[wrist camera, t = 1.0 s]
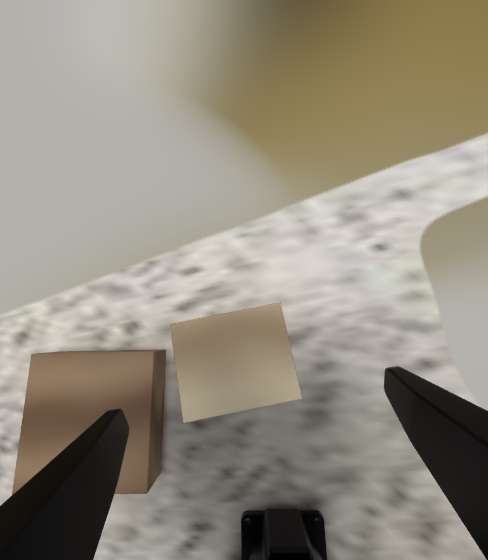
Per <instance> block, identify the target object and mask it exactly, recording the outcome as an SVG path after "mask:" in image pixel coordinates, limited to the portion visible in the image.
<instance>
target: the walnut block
mask: <svg viewBox="0 0 488 560" xmlns="http://www.w3.org/2000/svg"><path fill="white" fill-rule="evenodd" d="M165 357H166V350H120V351H68V352H49V353H38V354H31V361H30V369H29V376H28V383H27V390H26V397H25V405H24V412H23V419H22V426H21V434H20V441H19V448H18V455H17V462H16V470H15V477H14V484H13V491H12V495H13V494H14V493H15V492H16V491H18V490H19V489H20V488H21V487H22V486H23V485H24V484H25V483H27V482H28V481H29V480H30V479H31V478H32V477H33V476H34V475H36V474H37V473H38V472H39V471H40V470H41V469H42V468H43V467H45V466H46V465H47V464H48V463H49V462H50V461H51V460H52V459H54V458H55V457H56V456H57V455H58V454H59V453H60V452H61V451H63V450H64V449H65V448H66V447H67V446H68V445H69V444H70V443H72V442H73V441H74V440H75V439H76V438H77V437H78V436H79V435H80V434H82V433H83V432H84V431H85V430H86V429H87V428H88V427H89V426H91V425H92V424H93V423H94V422H95V421H96V420H97V419H98V418H100V417H101V416H102V415H103V414H104V413H105V412H106V411H108V410H110V409H116V408H121V409H122V410H123V412H124V414H125V417H126V419H127V422H128V424H129V436H128V440H127V445H126V449H125V453H124V458H123V462H122V467H121V471H120V476H119V480H118V483H117V487H116V490H115V493H114V494H147V493H148V491H149V490H150V488H151V487H152V485H153V483H154V482H155V480H156V479H157V477H158V476H159V474H160V473H161V458H162V433H163V408H164V383H165Z"/></svg>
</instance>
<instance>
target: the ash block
mask: <svg viewBox="0 0 488 560" xmlns="http://www.w3.org/2000/svg"><path fill="white" fill-rule="evenodd" d="M170 328H171V336H172V343H173V350H174V358H175V365H176V372H177V380H178V387H179V395H180V402H181V409H182V417H183V423H186V422H191V421H196V420H200V419H205V418H210V417H215V416H220V415H225V414H230V413H235V412H239V411H244V410H249V409H254V408H259V407H264V406H269V405H274V404H278V403H283V402H288V401H293V400H298V399H302V396H301V392H300V387H299V383H298V378H297V374H296V370H295V365H294V361H293V356H292V352H291V347H290V343H289V339H288V334H287V330H286V325H285V321H284V316H283V312H282V307H281V303H280V302H279V303H274V304H269V305H264V306H259V307H254V308H249V309H244V310H239V311H234V312H229V313H224V314H219V315H214V316H209V317H204V318H199V319H194V320H189V321H184V322H179V323H174V324H170Z"/></svg>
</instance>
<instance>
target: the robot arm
mask: <svg viewBox="0 0 488 560" xmlns="http://www.w3.org/2000/svg"><path fill="white" fill-rule="evenodd" d="M384 390H385V393H386V395H387V397H388V399H389V401H390V403H391V405H392V407H393V409H394V411H395V413H396V415H397V417H398V419H399V421H400V422H401V424H402V426H403V428H404V430H405V432H406V434H407V436H408V438H409V439H410V441H411V443H412V444H413V446H414V448H415V449H416V451H417V452H418V454H419V455H420V457H421V458H422V460H423V462H424V463H425V465H426V466H427V468H428V469H429V471H430V472H431V474H432V475H433V477H434V479H435V480H436V482H437V483H438V485H439V486H440V488H441V489H442V491H443V493H444V494H445V496H446V497H447V499H448V500H449V502H450V503H451V505H452V506H453V508H454V510H455V511H456V513H457V514H458V516H459V517H460V519H461V520H462V522H463V523H464V525H465V527H466V528H467V530H468V531H469V533H470V534H471V536H472V537H473V539H474V541H475V542H476V544H477V545H478V547H479V548H480V550H481V551H482V553H483V554H484V556H485V558H486V559H487V560H488V411H487V410H485V409H483V408H481V407H479V406H477V405H475V404H473V403H471V402H469V401H467V400H465V399H463V398H461V397H459V396H457V395H455V394H453V393H451V392H449V391H447V390H445V389H443V388H441V387H439V386H437V385H435V384H433V383H431V382H429V381H427V380H425V379H423V378H421V377H419V376H417V375H415V374H413V373H411V372H409V371H407V370H405V369H403V368H401V367H398V366H395V367H389V368H386V369H385V377H384ZM128 436H129V424H128V422H127V419H126V417H125V414H124V412H123V410H122V409H121V408H116V409H110V410H108V411H106V412H105V413H104V414H103V415H102V416H101V417H100V418H98V419H97V420H96V421H95V422H94V423H93V424H92V425H91V426H89V427H88V428H87V429H86V430H85V431H84V432H83V433H82V434H80V435H79V436H78V437H77V438H76V439H75V440H74V441H73V442H72V443H70V444H69V445H68V446H67V447H66V448H65V449H64V450H63V451H61V452H60V453H59V454H58V455H57V456H56V457H55V458H54V459H52V460H51V461H50V462H49V463H48V464H47V465H46V466H45V467H43V468H42V469H41V470H40V471H39V472H38V473H37V474H36V475H34V476H33V477H32V478H31V479H30V480H29V481H28V482H27V483H25V484H24V485H23V486H22V487H21V488H20V489H19V490H18V491H16V492H15V493H14V494H13V495H12V496H11V497H10V498H9V499H7V500H6V501H5V502H4V503H3V504H2V505H1V506H0V560H93V558H94V555H95V552H96V549H97V546H98V543H99V540H100V537H101V534H102V530H103V527H104V524H105V521H106V518H107V515H108V512H109V509H110V506H111V503H112V499H113V496H114V493H115V490H116V487H117V483H118V480H119V476H120V471H121V467H122V462H123V458H124V453H125V449H126V445H127V440H128ZM246 518H249V519H250V522H246V521H245V519H246ZM315 518H320V519H319V521H317V522H316V521H315ZM241 534H242V560H327V555H326V541H325V527H324V519H323V516H322V514H321V513H320V512H319V511H299V510H298V509H267V510H266V511H246V512H244V513H243V515H242V518H241Z"/></svg>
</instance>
